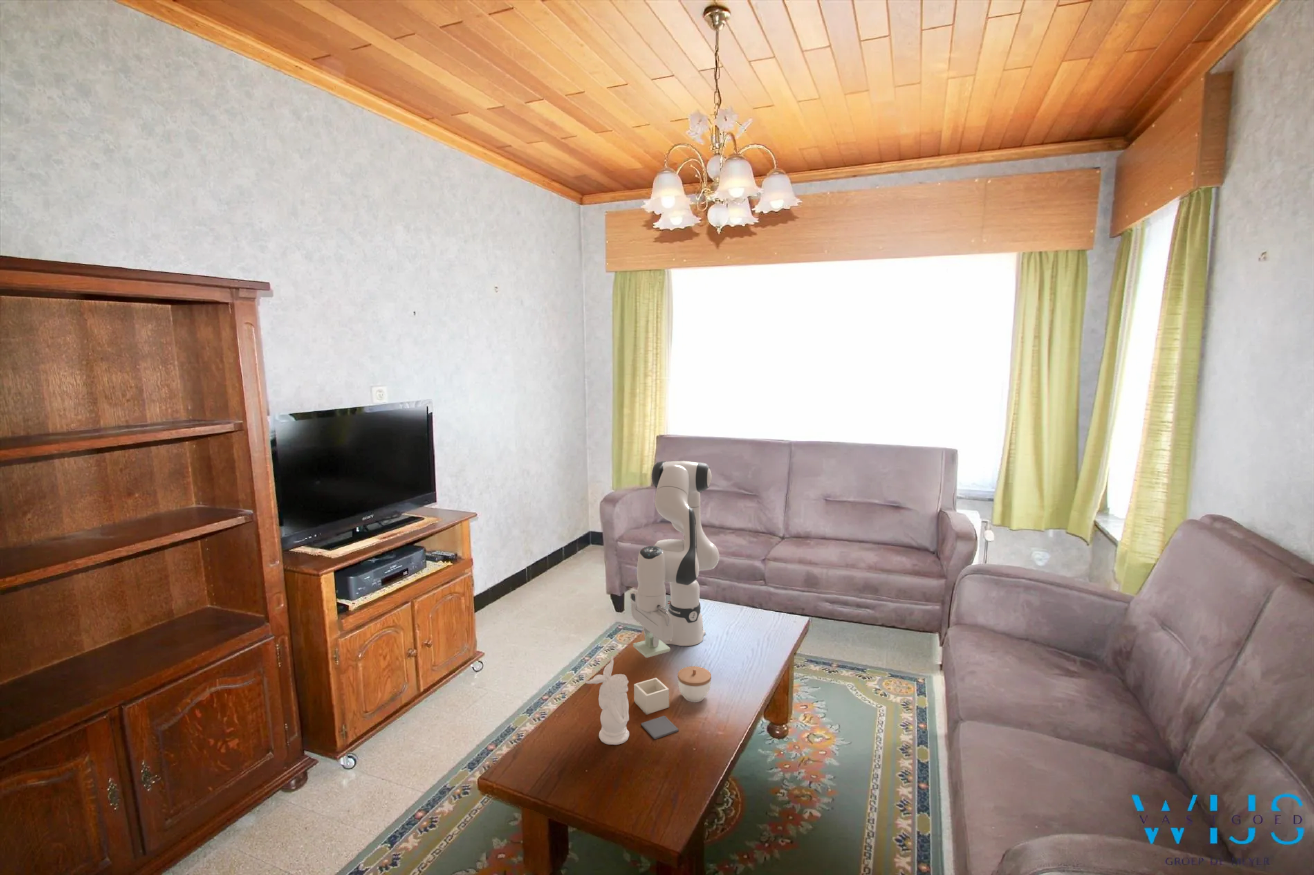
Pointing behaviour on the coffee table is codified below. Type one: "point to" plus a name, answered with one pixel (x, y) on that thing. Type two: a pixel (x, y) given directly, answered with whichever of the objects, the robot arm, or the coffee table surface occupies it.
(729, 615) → the coffee table surface
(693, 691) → the lidded jar
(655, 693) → the cream box
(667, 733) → the mat
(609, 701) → the white tall figurine
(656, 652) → the lid
